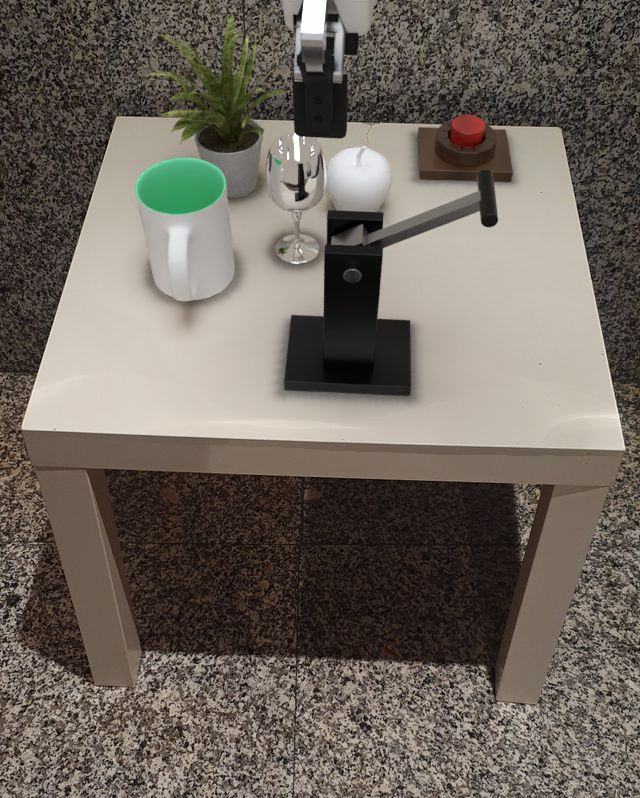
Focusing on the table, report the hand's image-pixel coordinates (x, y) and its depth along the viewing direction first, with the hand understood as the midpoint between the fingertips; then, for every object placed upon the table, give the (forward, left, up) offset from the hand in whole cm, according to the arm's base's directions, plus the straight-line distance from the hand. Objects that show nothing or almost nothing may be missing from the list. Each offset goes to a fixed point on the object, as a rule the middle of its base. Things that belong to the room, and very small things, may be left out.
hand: (328, 91), depth 55 cm
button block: (-6, -33, -27) cm, 43 cm away
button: (-6, -33, -24) cm, 41 cm away
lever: (-7, -2, -12) cm, 14 cm away
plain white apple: (+3, -21, -27) cm, 34 cm away
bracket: (-2, -1, -27) cm, 27 cm away
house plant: (+18, -22, -27) cm, 39 cm away
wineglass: (+7, -13, -27) cm, 31 cm away
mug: (+15, -5, -27) cm, 31 cm away
